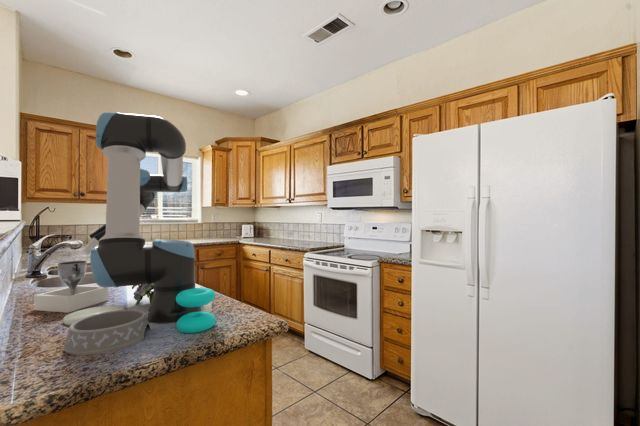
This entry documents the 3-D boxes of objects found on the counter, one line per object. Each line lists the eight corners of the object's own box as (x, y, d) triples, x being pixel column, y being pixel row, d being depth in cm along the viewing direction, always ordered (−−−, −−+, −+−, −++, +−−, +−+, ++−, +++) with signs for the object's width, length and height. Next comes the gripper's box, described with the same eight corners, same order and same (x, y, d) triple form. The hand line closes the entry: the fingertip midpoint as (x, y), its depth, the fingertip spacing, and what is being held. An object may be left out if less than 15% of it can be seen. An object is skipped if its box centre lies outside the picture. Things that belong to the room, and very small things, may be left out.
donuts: (215, 285, 92) (213, 294, 82) (216, 319, 92) (214, 332, 82) (179, 288, 89) (172, 297, 79) (179, 323, 89) (173, 336, 79)
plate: (134, 310, 102) (134, 306, 102) (91, 327, 87) (91, 323, 87) (97, 308, 105) (97, 304, 105) (50, 323, 91) (49, 319, 91)
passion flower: (138, 320, 108) (126, 290, 112) (170, 307, 116) (158, 279, 119) (142, 308, 101) (129, 276, 104) (176, 295, 108) (163, 266, 112)
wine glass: (52, 307, 107) (51, 263, 107) (76, 301, 114) (75, 260, 114) (69, 309, 105) (68, 264, 105) (92, 302, 112) (91, 260, 112)
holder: (108, 300, 115) (107, 286, 115) (68, 312, 101) (68, 297, 101) (77, 298, 118) (77, 285, 118) (34, 310, 104) (34, 295, 104)
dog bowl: (49, 361, 68) (49, 336, 68) (86, 330, 85) (86, 311, 85) (137, 350, 73) (137, 327, 73) (155, 323, 90) (155, 305, 90)
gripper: (160, 219, 134) (132, 259, 119) (112, 219, 140) (80, 258, 125) (150, 206, 129) (120, 247, 114) (101, 207, 135) (66, 246, 120)
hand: (99, 253), depth 120 cm, fingers open, 13 cm apart
